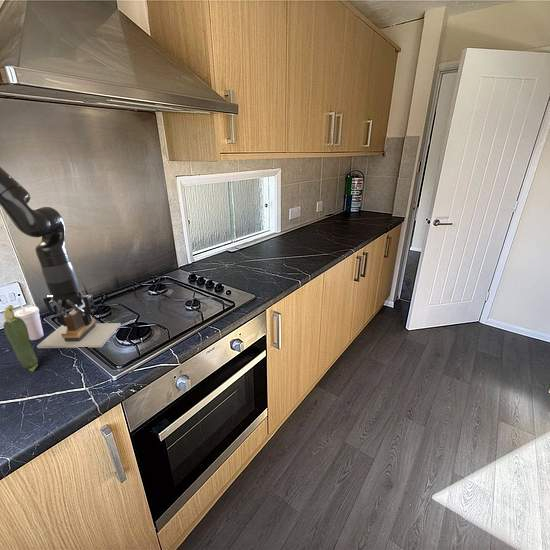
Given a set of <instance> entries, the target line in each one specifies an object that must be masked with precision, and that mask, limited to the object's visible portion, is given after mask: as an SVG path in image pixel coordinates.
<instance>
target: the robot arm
mask: <svg viewBox="0 0 550 550" xmlns="http://www.w3.org/2000/svg"><path fill="white" fill-rule="evenodd" d="M30 201H31V194H30V192H29V191H28V190H26V188H25V187H24V186H22V185H21V184H20V183H19V182H18V181H17V180H16V179H15V178H13V177H12V176H11V175H10V174H9V173H8V172H7V171H6V170H5V169H3V168H2V166H0V207H2V209H3V210H4V212H5V213H6V215H7V216H8V218H9V219H10V220H11V222H12V223H13V225H14V227H16V228H17V229H18V231H20V233H22V234H24V235H26V236H28V237H31V238H41V241H40V243H38V244H37V245H36V246H35V249H34V250H35V254H36V257H37V260H38V263H39V265H40V269H41V273H42V276H43V278H44V281H45V284H46V287H47V290H48V291H49V294H48V295H46V296H45V297H43V299H42V300H43V303H44V304H45V307H46V308H47V310H48V312H49V314H50V315H51V316H56V317H58V319H59V321H60V323H61V326H62V325H63V326H66V323H65V321H64V318H63V317H64V316H66V315H67V314H68V313H67V309H72V310H73V309H74V310H75V311H78V312H79V313H80V314H81V315H82V318H83V321H84V324H85V326H89V325H90V324H91V322H92V319H91V318H92V316H91V314H92V313H93V312H95V311H96V307H95V302H94V298H93V297H94V296H93V294H92V293H88V294H83V293H82V292H81V289H80V283H79V280H78V277H77V273H76V271H75V268H74V265H73V263H72V262H71V259H70V256H69V252H68V250H67V248H66V227H65V221H64V219H63V216H62V215H61V214H60V212H59V211H58V210H56V209H55V208H54V207H51V206H41V207H38V208H34V209H33V208H31V207H30V206H29V204H28V203H29V202H30ZM82 309H83V310H84V311H83V310H82Z"/></svg>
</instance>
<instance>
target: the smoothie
mask: <svg viewBox="0 0 550 550" xmlns="http://www.w3.org/2000/svg"><path fill="white" fill-rule="evenodd" d="M17 301H18V304H19V306H20V309H18V310H16V311H15V312H13V313H14V316H15V317H18V318H20V319H22V320H23V321H24V322H25V324H26V327H27V330H28V334H29V341H36V340H39V339H41V338H43V337H44V335H45V334H44V330H43V326H42V321H41V316H40V309H39V307H38V306H34V305H32V306H26V307H24V305H23V302H22V300H21V298H17Z"/></svg>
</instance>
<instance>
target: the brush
mask: <svg viewBox="0 0 550 550" xmlns="http://www.w3.org/2000/svg"><path fill="white" fill-rule="evenodd" d="M82 310H83V309H82ZM83 311H84V310H83ZM63 318H64V321H65V323H66V326H67V329H66V330H65V331H64V332H63V333H62V334H61V335H62V338H64V340H65V342H76V341H81V340H82V339H83V338H84V337H85V336H86V335H87V334H88V333H89V332H90V331H91V330H92V329H93V328H94V327H95V326H96V325H95V323H96V319H95V317H91V319H92V322H91V324H90V325H89V326H85V324H84V321H83V318H82V315H81V314H80V313H79V312H78V311H75V310H74V309H73V308H72V309H71V311H69V312H68V313H67V315H66V316H64V317H63Z"/></svg>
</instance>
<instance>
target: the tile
mask: <svg viewBox="0 0 550 550" xmlns="http://www.w3.org/2000/svg"><path fill="white" fill-rule="evenodd" d="M95 325H96V326H95V327H94V328H93V329H92V330H91V331H90V332H89V333H88V334H87V335H86V336H85V337H84V338H83V339H82V340H81V341H76V342H65V340H64V338H62V335H61V334H62V333H63V332H64V331H65V330H66V329H67V326H63V325H62V324H61V325H60V326H59V327H58V328H56V329H55V330H54V331H52V332H51V333H50V334H49V335H48V336H46V337H45V338H44V339H43V340H42V341H41V342H39V343H38V344H37V345H36V348H37V349H78V348H77V347H88V348H89V349H91V348H95V349H97V348H103V347H104V345H105V344H106V343H107V342H108V341H109V340H110V339H111V338H112V337H113V335H114V334H116V332H117V331H118V330H119V329H120V328H121V326H122V323H121V322H110V323H109V322H107V323H106V322H104V323H103V322H102V323H100V322H99V323H97V322H95ZM118 328H119V329H118ZM117 329H118V330H117ZM116 330H117V331H116ZM88 348H87V349H88Z"/></svg>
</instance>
